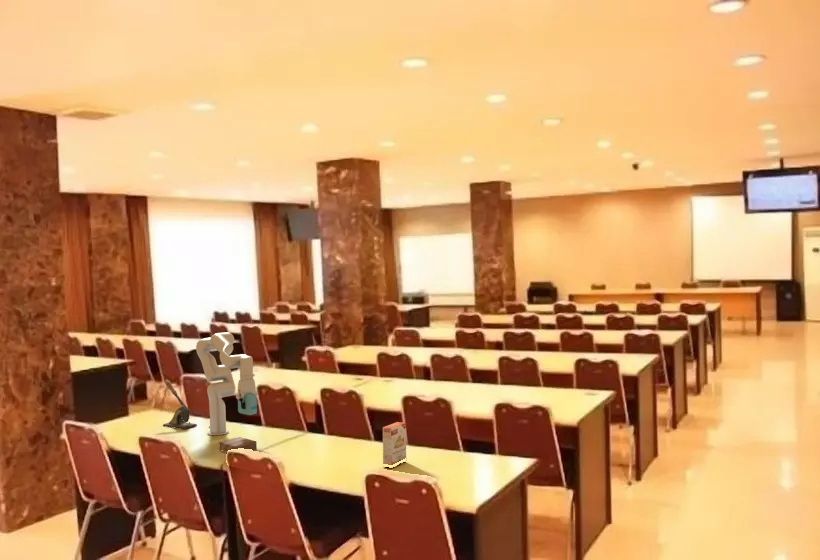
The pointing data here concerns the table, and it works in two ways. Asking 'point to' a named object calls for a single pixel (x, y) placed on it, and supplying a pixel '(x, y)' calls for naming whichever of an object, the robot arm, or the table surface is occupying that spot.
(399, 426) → the cracker box
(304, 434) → the table surface
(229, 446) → the walnut block
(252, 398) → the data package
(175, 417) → the embossing press
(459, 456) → the table surface
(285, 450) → the table surface
